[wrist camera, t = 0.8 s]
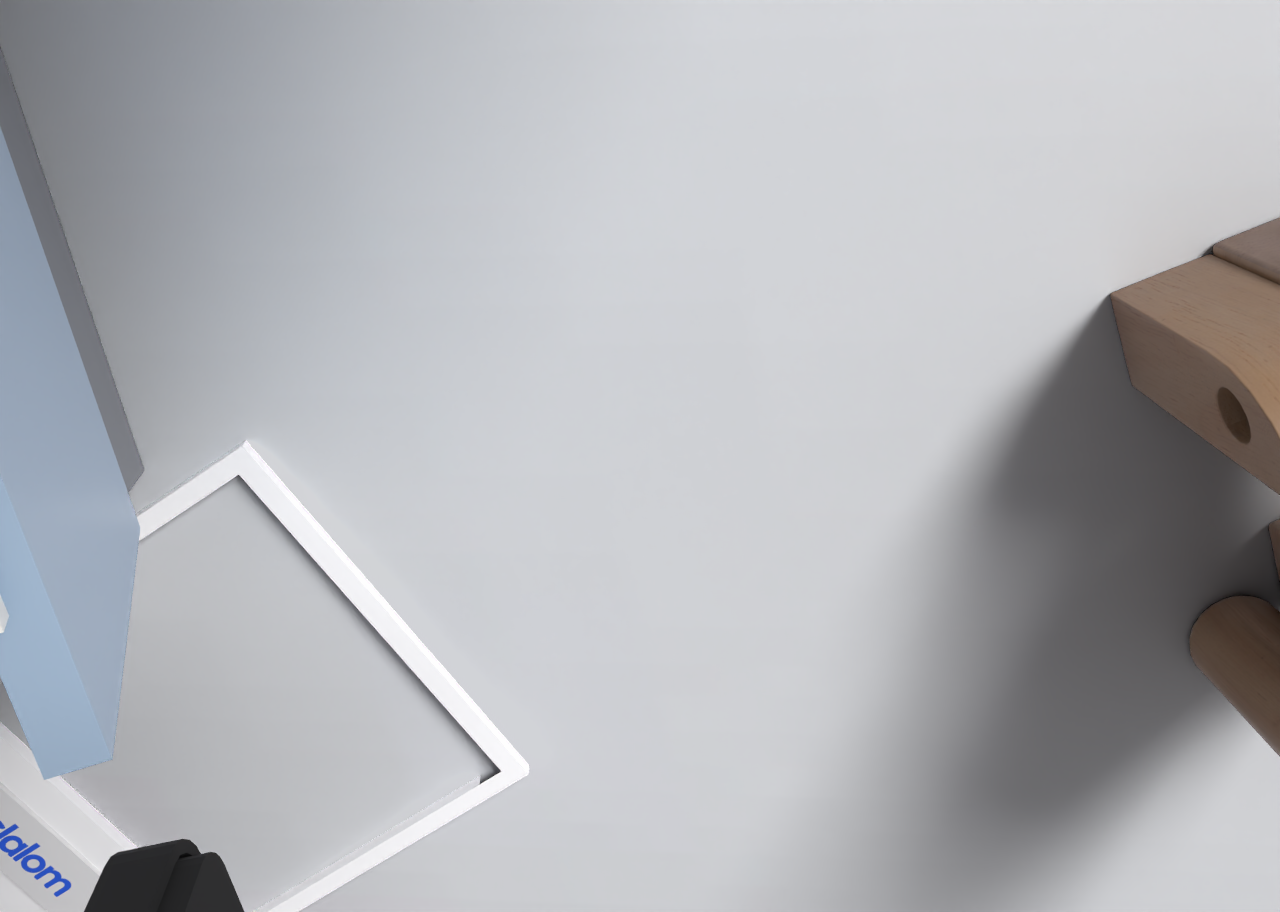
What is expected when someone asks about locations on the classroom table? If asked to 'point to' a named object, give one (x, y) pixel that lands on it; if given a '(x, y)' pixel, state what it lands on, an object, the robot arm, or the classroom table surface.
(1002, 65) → the classroom table surface
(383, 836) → the photo frame
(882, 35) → the classroom table surface
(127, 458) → the cable duct
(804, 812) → the classroom table surface
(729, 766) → the classroom table surface
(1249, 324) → the wooden toy
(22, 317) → the duct cover
